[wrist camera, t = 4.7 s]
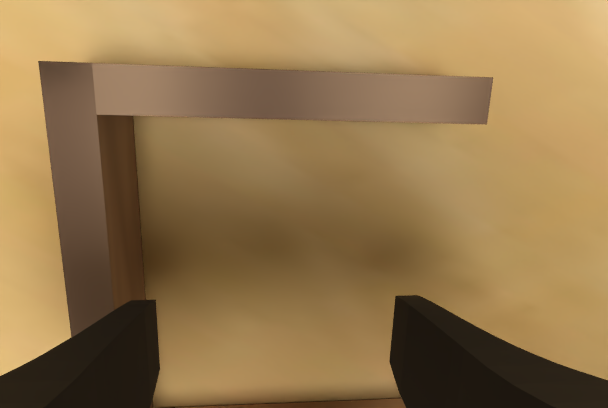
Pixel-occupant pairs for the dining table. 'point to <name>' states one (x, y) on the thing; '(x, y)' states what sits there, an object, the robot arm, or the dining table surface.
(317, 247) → the dining table surface
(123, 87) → the frame
